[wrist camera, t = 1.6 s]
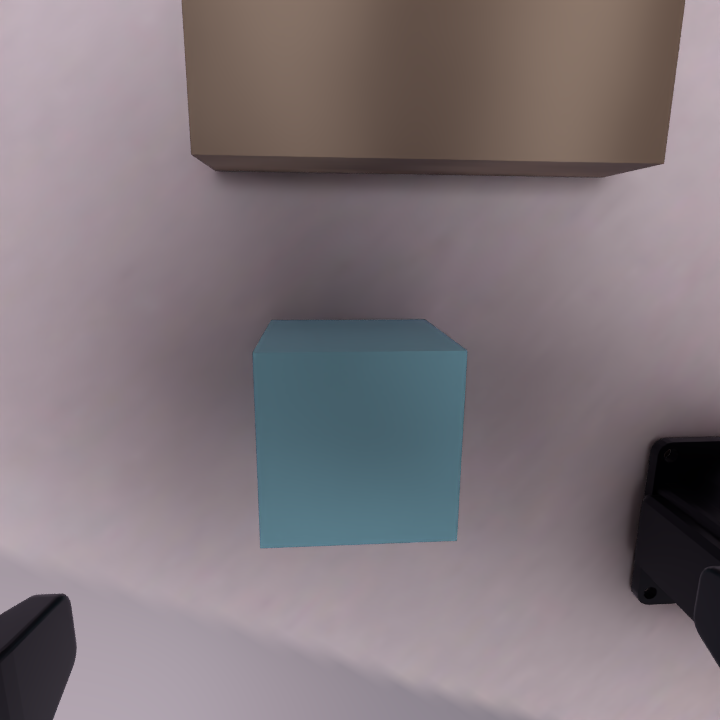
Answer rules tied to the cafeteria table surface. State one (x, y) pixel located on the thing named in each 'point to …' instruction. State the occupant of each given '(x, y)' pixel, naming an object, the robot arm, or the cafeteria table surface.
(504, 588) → the cafeteria table surface
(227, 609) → the cafeteria table surface
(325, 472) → the teal cube
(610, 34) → the walnut base
